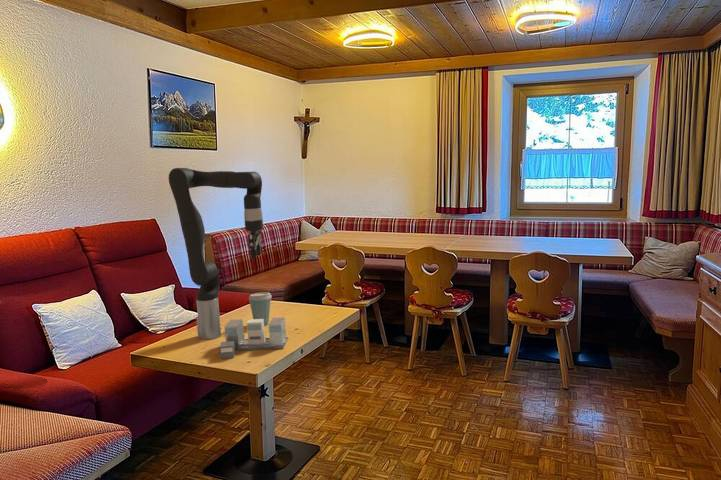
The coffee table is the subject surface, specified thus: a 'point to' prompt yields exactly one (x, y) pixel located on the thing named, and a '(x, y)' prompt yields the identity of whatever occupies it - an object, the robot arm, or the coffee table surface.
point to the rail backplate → (274, 342)
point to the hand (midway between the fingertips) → (256, 256)
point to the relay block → (227, 350)
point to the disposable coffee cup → (260, 306)
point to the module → (256, 331)
